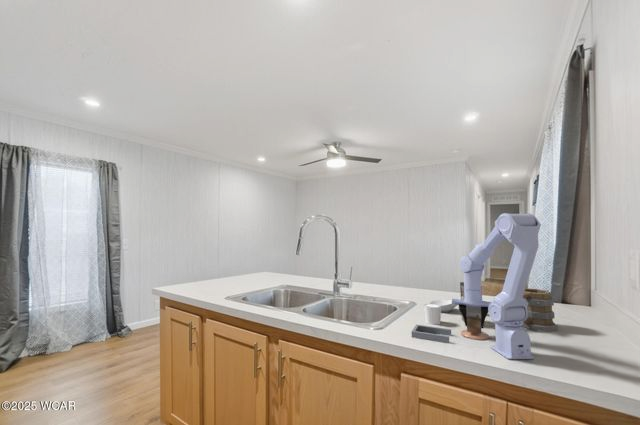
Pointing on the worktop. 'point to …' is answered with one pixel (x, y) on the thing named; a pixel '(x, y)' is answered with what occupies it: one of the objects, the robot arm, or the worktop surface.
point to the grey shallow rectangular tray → (431, 333)
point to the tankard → (539, 310)
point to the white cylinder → (432, 313)
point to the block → (474, 324)
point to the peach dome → (474, 335)
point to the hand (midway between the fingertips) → (474, 326)
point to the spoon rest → (444, 305)
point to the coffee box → (470, 309)
